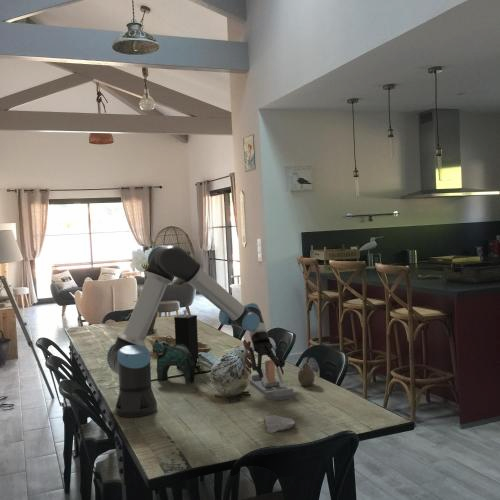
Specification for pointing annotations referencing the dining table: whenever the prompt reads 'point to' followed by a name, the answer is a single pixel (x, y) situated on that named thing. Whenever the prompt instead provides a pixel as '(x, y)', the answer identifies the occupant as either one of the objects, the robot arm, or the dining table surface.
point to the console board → (272, 389)
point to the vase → (306, 375)
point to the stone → (277, 423)
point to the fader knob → (270, 374)
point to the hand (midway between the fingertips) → (274, 383)
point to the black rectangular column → (187, 333)
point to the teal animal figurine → (173, 360)
